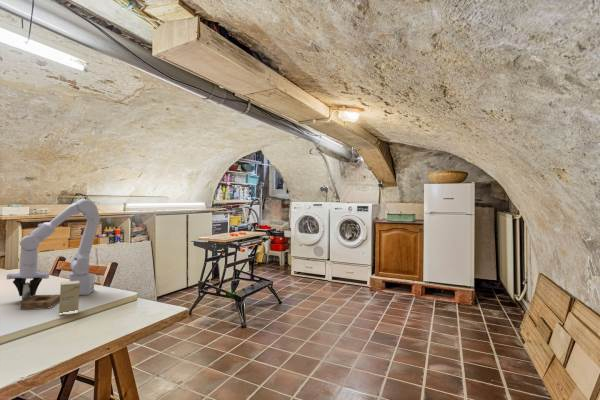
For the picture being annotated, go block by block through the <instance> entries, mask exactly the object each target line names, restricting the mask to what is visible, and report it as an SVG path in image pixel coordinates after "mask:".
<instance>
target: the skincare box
mask: <svg viewBox="0 0 600 400" xmlns="http://www.w3.org/2000/svg"><path fill="white" fill-rule="evenodd" d="M79 288H80V281H70V280H68V281H61V282H60V292H59V295H60V301H59V308H58V314H59V313H63V312H69V311H75V310H78V311H79V303H80V302H79V301H80V300H79V299H80V295H79Z"/></svg>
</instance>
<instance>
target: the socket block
mask: <svg viewBox="0 0 600 400" xmlns="http://www.w3.org/2000/svg"><path fill="white" fill-rule="evenodd" d="M57 302H58V303H60V294H35V295H34V296H32V297H30V298H29V299H27V300H25V301H22V302H20V310H35V309H34V308H46V309H49V308H48V307H51V306H52V307H54V306H55V305H57V304H58V303H57ZM56 303H57V304H56ZM54 304H55V305H54ZM53 305H54V306H53ZM52 307H51V308H52Z"/></svg>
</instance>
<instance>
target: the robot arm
mask: <svg viewBox="0 0 600 400" xmlns="http://www.w3.org/2000/svg"><path fill="white" fill-rule="evenodd" d="M80 214H82V215H83V216H84V218H85V219H86V223H85V226H84V230H83V233H82V236H81V240H80V242H79V245H78V248H77V249H78V250H77V252H76V253H75V255H74V258H73V259H72V260H71V261H70V263H69V268H70V269H71V272H70V273H69V281H80V288H79V296H89V295H90V294H91V293H93V292H94V291H95V274H94V273H89V270H90V259H91V258H90V253H91V251H92V247H93V245H94V240H95V237H96V234H97V232H98V231H97V230H98V228H99V225H100V221H101V216H100V213H99V210H98V206H97V205H96V204H95V203H94V201H93V200H91V199H87V198H79V199H77V200H76V201H75V202H72V203H71V204H70V205H68V206H66V208H65V209H63V210H62V211H61V212H60V213H58V214H57V215H55V217H53V219H51V221H49V222H48V221H46V222H45V221H44V222H43V223H39V224H37V227H36V228H35V229H34V230H32V231H31V232H30V231H29V232H28V233H27V235H25V236H23V237H22V238H21V239H20V242H19V245H20V247H21V248H20V254H19V272H17V273H8V274H6V280H12V284H14V286H15V288H16V290H17V292H18V295H19V297H22V284H23V283H27V280H28V279H30V280H29V282H30V284H31V296H34V295H37V294H36V293H37V291H38V287H39V286H40V284H41V282H42V281H43V279H45V280H47V279H49V277H50V273H49V272H38V258H39V257H38V255H39V253H38V248H39V246H40V243H42V242H44V241H45V240H46V239H47V238H49V237H50V236H51V235H53V234H54V233H55V232H56V228H57V227H58V226H60V225H61V224H63V222H65V221H66V220H67V219H69V218H70V217H72V216H76V215H80Z"/></svg>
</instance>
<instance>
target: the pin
mask: <svg viewBox="0 0 600 400" xmlns="http://www.w3.org/2000/svg"><path fill="white" fill-rule="evenodd" d="M30 297H32V296H31V284H30V281H29V282H27V281H26V282H25V283H23V284H22V296H21V301H22V302H24V301H25V300H27V299H29V298H30Z"/></svg>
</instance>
